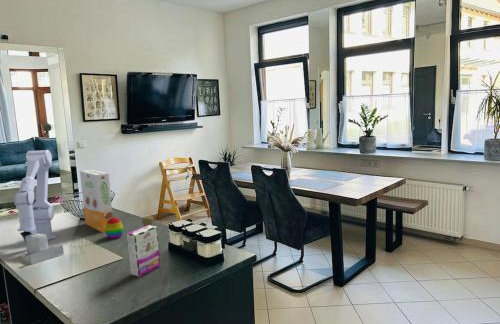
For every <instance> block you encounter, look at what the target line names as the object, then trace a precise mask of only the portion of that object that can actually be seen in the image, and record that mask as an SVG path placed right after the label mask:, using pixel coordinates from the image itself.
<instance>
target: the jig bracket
mask: <svg viewBox="0 0 500 324" xmlns="http://www.w3.org/2000/svg"><path fill="white" fill-rule="evenodd" d="M62 254H63V255H64V254H65V253H64V245H62V244H59V245H57V246H56V245H54V244H48V249H46V250H42V251H39V252H36V253H32V254H29V255H28V254H27V252H22V253H20V258H21V259H22V260H23V261H25V262H27V263H28V264H29V265H31V266H32V265H34V264H37V263H38V264H39V263H41V262H44V261H47V260H50V259H49V258H51V259H53V258H52V257H54V258H56V256H57V257H59V255H60V256H63V255H62Z"/></svg>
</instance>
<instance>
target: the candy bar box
mask: <svg viewBox="0 0 500 324" xmlns="http://www.w3.org/2000/svg"><path fill="white" fill-rule="evenodd" d="M126 240H127V250H128V258H129V259H128V260H129V267H130V275H131V276H134V277H137V278H140V277H143V276H144V275H146V274H148V273H150V272H151V271H154V270H155V269H157V268H159V267H161V257H160V255H161V254H160V246H159V245H160V244H159V236H158V226H156V225H153V226H151V225H148V226H145V227H144V226H143V227H140V228H138V229H136V230H132V231H129V232H128V233H126Z"/></svg>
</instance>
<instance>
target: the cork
mask: <svg viewBox="0 0 500 324" xmlns="http://www.w3.org/2000/svg"><path fill="white" fill-rule="evenodd" d="M141 219H142V220H141V221H142V224H143V227H145V226H148V225H151V226H154V217H153V216H150V215H147V216H143V217H142V218H141Z"/></svg>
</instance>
